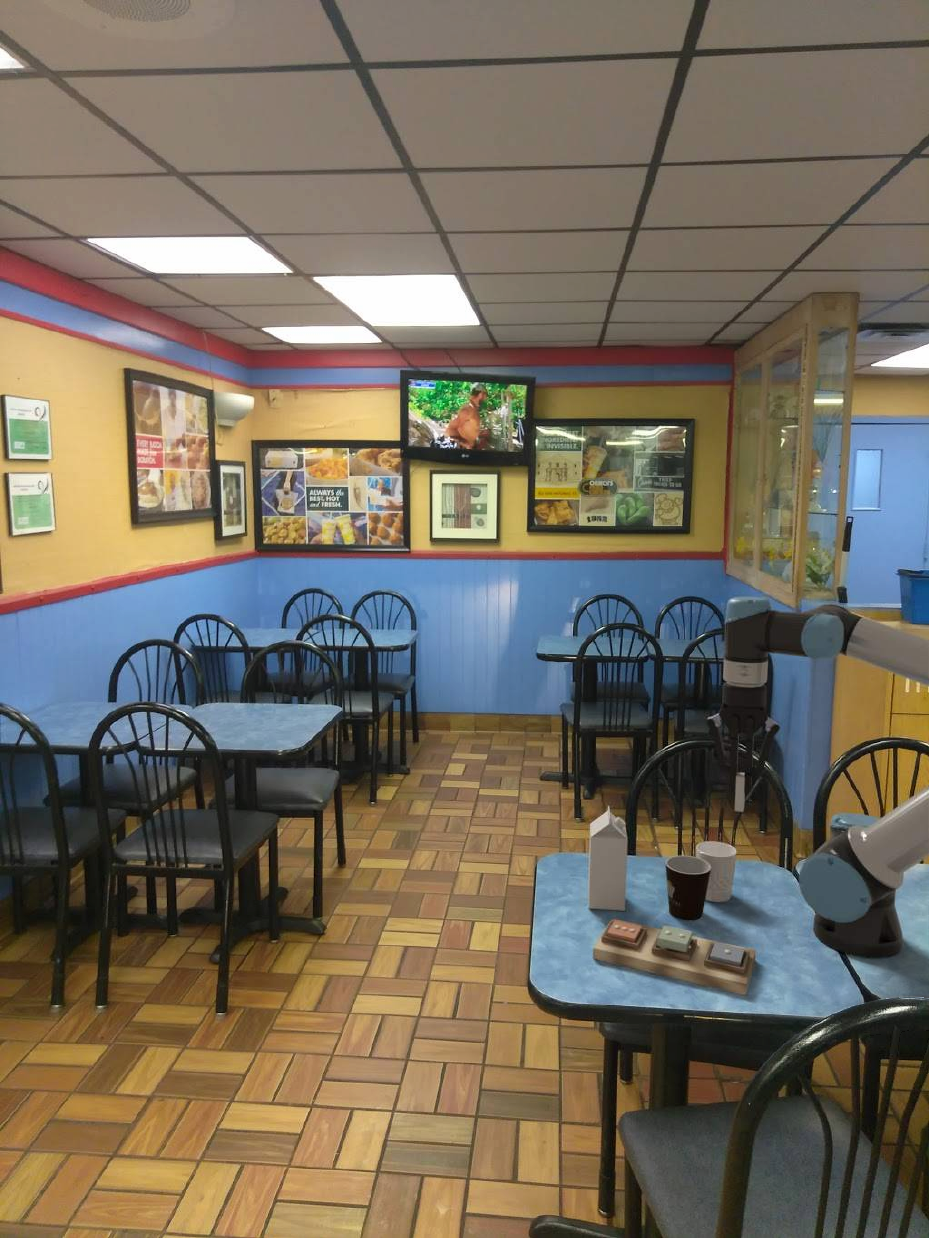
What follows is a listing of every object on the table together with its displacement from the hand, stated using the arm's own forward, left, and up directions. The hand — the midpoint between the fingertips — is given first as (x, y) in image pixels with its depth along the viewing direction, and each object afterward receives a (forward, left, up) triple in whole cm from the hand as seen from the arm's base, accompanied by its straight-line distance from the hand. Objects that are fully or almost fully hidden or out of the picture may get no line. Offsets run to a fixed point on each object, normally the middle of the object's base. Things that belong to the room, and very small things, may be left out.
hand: (739, 808), depth 161 cm
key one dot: (-1, +14, -22) cm, 26 cm away
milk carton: (+25, -2, -25) cm, 35 cm away
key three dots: (+17, +14, -22) cm, 31 cm away
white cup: (+6, -15, -25) cm, 29 cm away
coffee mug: (+10, -6, -25) cm, 27 cm away
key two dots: (+8, +14, -21) cm, 27 cm away
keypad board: (+8, +14, -24) cm, 29 cm away
